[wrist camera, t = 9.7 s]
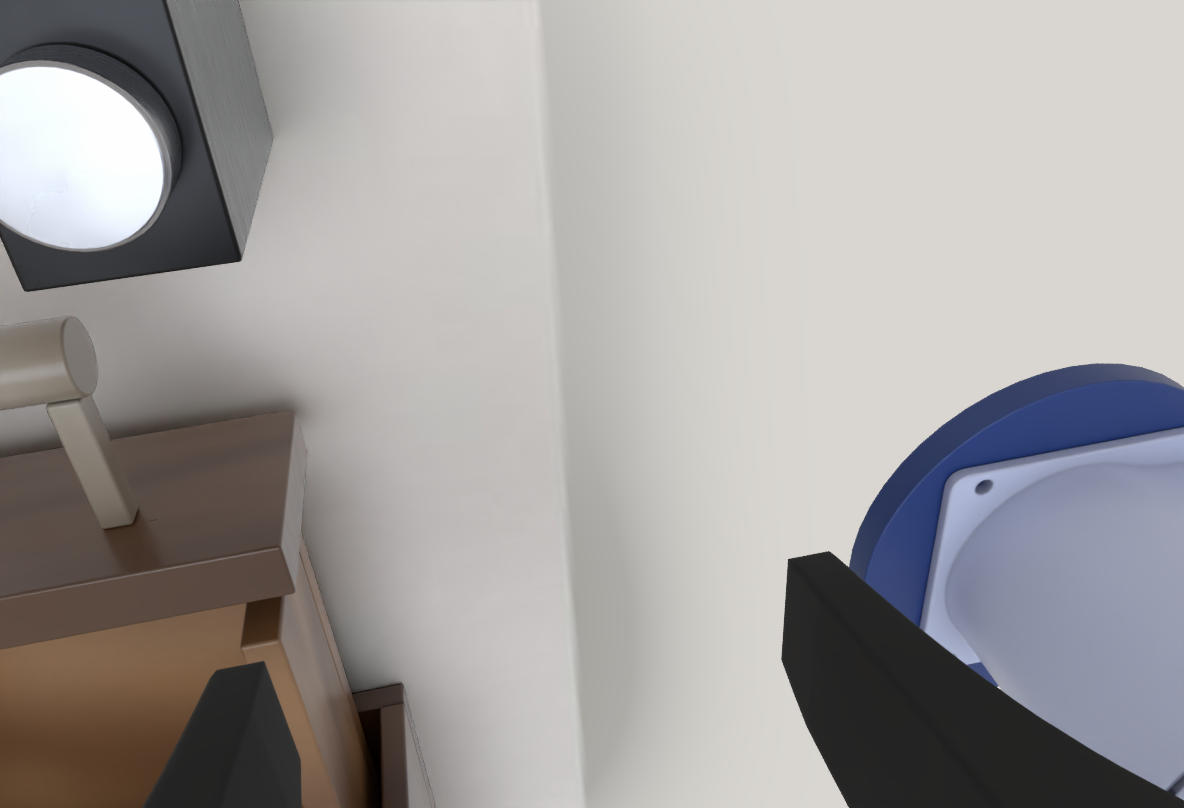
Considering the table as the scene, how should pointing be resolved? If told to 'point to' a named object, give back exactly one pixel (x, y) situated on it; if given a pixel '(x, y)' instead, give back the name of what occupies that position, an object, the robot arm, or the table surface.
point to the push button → (126, 138)
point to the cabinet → (394, 747)
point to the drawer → (152, 592)
